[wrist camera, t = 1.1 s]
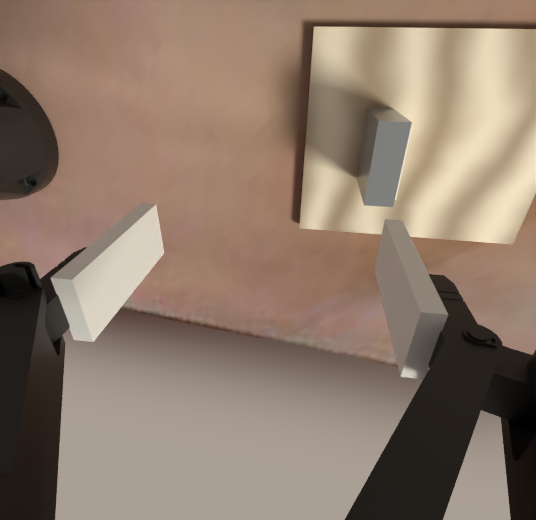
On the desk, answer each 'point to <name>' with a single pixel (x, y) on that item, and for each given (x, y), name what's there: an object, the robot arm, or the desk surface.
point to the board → (425, 129)
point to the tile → (382, 156)
